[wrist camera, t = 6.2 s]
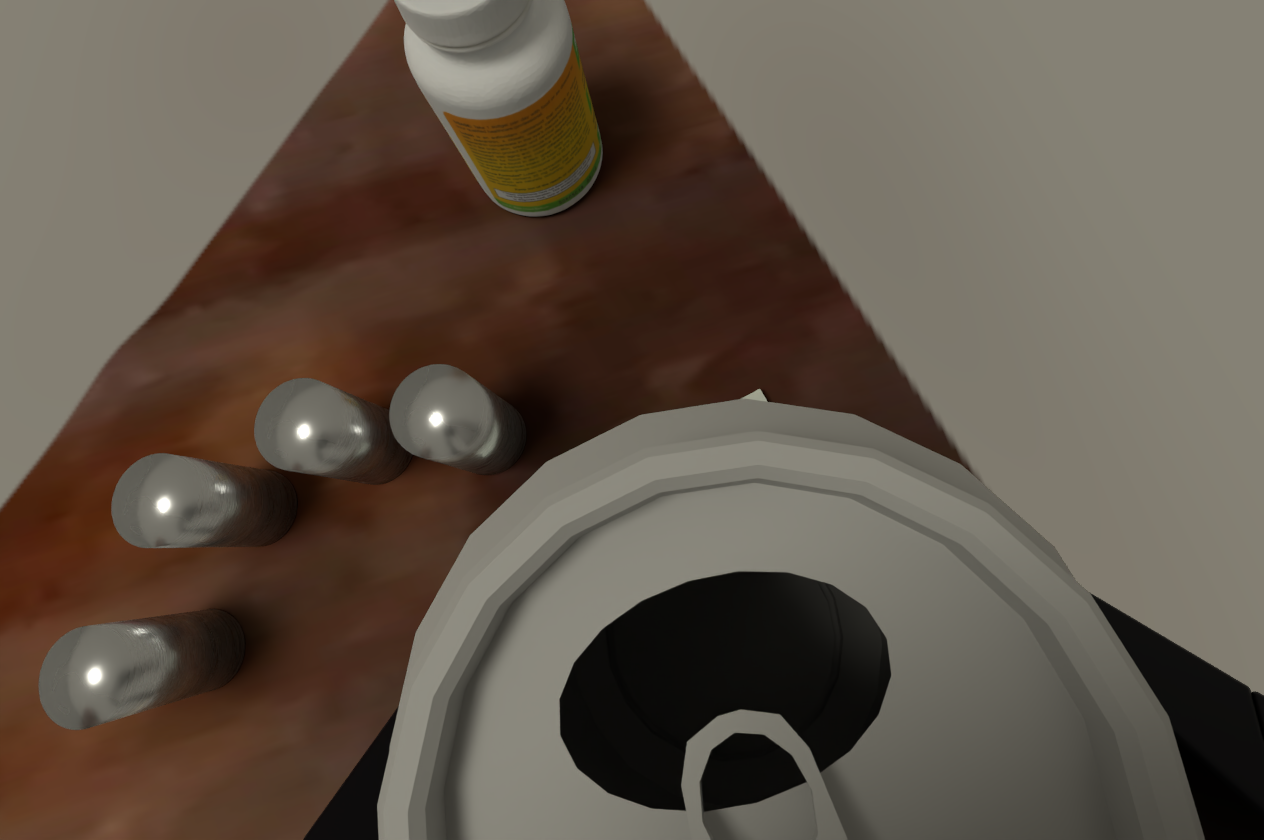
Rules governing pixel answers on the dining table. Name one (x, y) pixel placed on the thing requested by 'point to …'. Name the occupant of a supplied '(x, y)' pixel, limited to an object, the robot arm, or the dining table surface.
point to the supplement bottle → (508, 96)
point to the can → (771, 655)
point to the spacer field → (259, 524)
